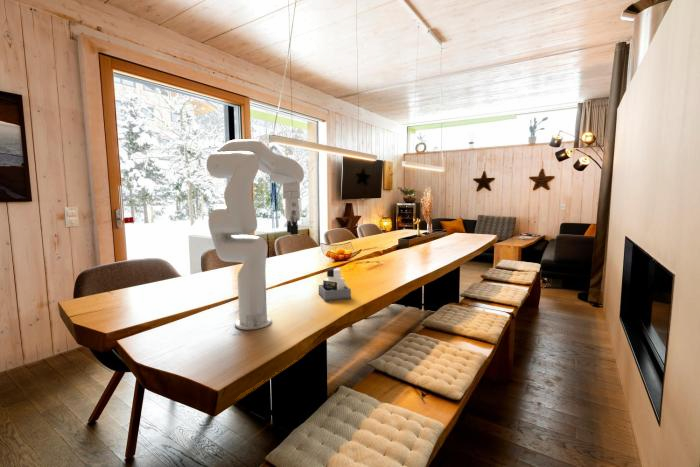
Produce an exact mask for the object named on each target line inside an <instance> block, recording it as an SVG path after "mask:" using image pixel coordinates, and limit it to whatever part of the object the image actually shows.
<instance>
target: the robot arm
mask: <svg viewBox="0 0 700 467" xmlns="http://www.w3.org/2000/svg"><path fill="white" fill-rule="evenodd" d="M206 169H207V172H208V173H209V175H211V177H213V178H216V179H230V180H229V181H228V183H227V184H226V187H225V188H224V192H223V197H224V202H225V206H224V205H223V206H216V207H215V208H213V209H212V210H211V211H210V213H209V215H208V229H209V233H210V235H211V238H212V239H211V240H212V243H213V245H214V249H215V252H216V255H217V257H218V258H219V260H221V261H223V262H226V263H242V266H241V268H240V270H239V271H238V274H237V293H238V294H237V296H238V301H237V302H238V318H237V319H236V320H235V321H234V326H235V327H236V328H237V329H240V330H247V331H248V330H249V331H250V330H252V331H253V330H259V329H262V328H265V327H268V326H270V325H271V324H272V322H273V320H272V317H271V316H269V315H268V311H267V309H268V307H267V305H268V304H267V283H266V282H267V280H266V279H267V278H266V265H267V264H266V263H267V258H268V257H267V256H268V250H269V249H268V243H267V241H266V240H265V238H263V237H261V236H258V235H251V234H253V233H255V232H256V230H257V229H258V220H257V215H256V211H255V205H254V202H253V195H252V188H253V185H254V181H255V179H256V176H257V174H258V173H259V172H258V171H260V172H262V173H264V174H267V175H269V179H270V180H271V181H272V183H274V184H282V199H283V200H285V218H286V221H287V222H286V223H287V224H286V232H287V234H289V233H290V235H291V236H295V235H299V225H298V221H299V222H300V220H301V215H300V203H299V199H301V190H300V189H301V183H302V182H303V181H304V178H305V172H304V169H303V167H302V166H301V164H299V162H298V161H296V160H295V159H292V158H291V157H287V156H284V155H282V154H277V153H275V152H273V151H272V150H271V149H270V148H269V147H268V146H267V145H266V144H264V143H263V142H262V141H261V140H258V139H254V138H252V139H251V138H250V139H249V138H248V139H232V140H229V141H227V142H226V143H224V144H222V145H221V146H219V147H218V148H216V149H215V150H213V151H212V152H211V153H210V154H209V155H208V157H207V159H206Z"/></svg>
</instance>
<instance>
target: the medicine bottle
mask: <svg viewBox="0 0 700 467" xmlns="http://www.w3.org/2000/svg"><path fill="white" fill-rule="evenodd" d="M326 276H327V278H325V279H323V281H322V285H323V288H324V289H325V290H326V291H330V290H340V289H345V285H346V284H345V280H346V279H345V278H344V277H341V276H342V275H341V269H340V268H339V267H330V268H328V269H326Z"/></svg>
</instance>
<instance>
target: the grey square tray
mask: <svg viewBox="0 0 700 467" xmlns="http://www.w3.org/2000/svg"><path fill="white" fill-rule="evenodd" d="M351 293H352V289H351V288H350V287H349V286H348V285H346V284H345V289H340V290H330V291H326V290H325V289H324V288H323V284H319V285H318V295H319V297H320V298H321V299H322V300H323V301H324V302H325V303H327V302H335V301H345V300H346V301H347V300H351V299H352V295H351Z"/></svg>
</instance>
